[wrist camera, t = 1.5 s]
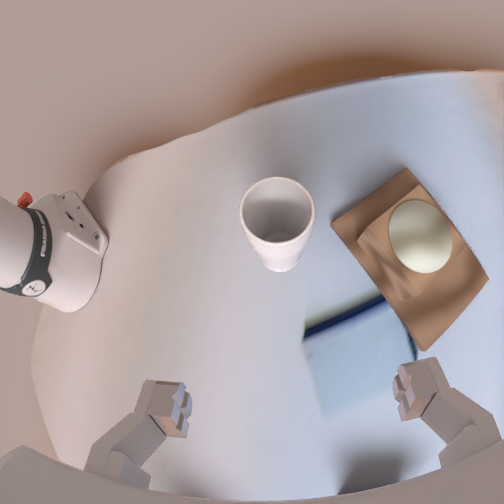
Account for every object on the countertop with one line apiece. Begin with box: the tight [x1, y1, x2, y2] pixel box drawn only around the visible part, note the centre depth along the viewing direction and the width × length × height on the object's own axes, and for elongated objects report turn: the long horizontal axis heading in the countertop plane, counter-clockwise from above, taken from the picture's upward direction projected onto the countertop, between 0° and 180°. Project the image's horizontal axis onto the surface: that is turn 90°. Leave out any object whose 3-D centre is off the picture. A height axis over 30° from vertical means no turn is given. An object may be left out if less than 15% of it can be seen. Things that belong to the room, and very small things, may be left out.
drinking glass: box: [239, 176, 315, 272], centre depth 32 cm, size 7×7×15 cm
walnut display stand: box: [331, 168, 489, 351], centre depth 33 cm, size 22×16×8 cm
